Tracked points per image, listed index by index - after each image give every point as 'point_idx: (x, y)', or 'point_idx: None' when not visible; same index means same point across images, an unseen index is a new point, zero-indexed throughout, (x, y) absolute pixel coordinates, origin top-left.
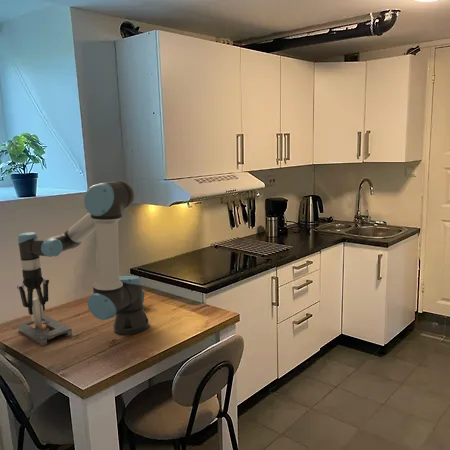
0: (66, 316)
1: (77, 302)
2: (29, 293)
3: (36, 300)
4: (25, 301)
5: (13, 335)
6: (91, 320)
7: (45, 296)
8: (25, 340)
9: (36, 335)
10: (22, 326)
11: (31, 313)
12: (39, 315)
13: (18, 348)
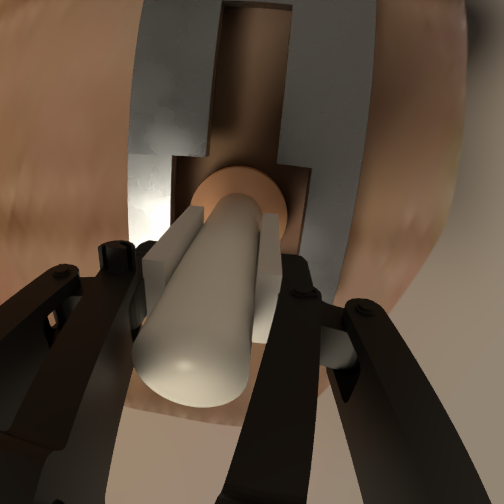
0: (55, 259)
1: None
2: (304, 490)
3: (196, 317)
4: (393, 362)
5: (375, 267)
6: (8, 91)
7: (40, 313)
8: (386, 128)
9: (374, 19)
10: (335, 270)
11: (290, 259)
12: (221, 220)
13: (456, 71)
